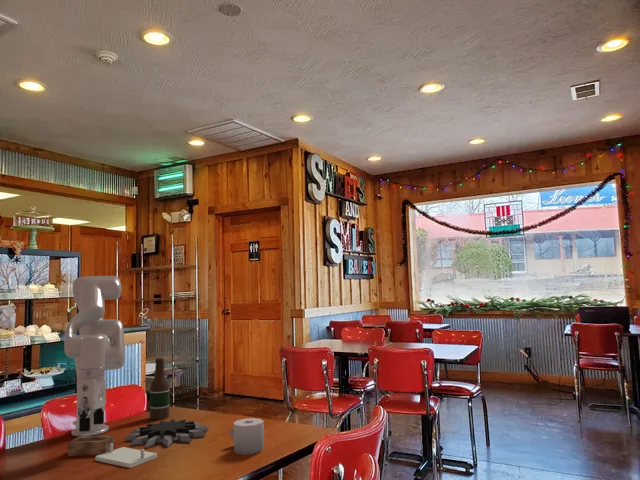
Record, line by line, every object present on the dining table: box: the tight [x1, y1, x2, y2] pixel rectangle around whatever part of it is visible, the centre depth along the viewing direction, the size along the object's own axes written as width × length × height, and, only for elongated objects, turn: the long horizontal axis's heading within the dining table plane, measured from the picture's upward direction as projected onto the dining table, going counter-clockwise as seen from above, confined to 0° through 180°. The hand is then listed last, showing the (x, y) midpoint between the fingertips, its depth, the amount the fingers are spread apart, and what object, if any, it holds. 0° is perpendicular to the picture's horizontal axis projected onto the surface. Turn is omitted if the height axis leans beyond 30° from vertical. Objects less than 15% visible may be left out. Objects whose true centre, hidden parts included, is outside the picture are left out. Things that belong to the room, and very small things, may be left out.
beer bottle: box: [149, 357, 171, 421], centre depth 205 cm, size 8×8×24 cm
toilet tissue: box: [228, 417, 265, 456], centre depth 159 cm, size 9×13×9 cm
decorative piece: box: [123, 418, 211, 449], centre depth 176 cm, size 30×4×30 cm
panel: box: [95, 443, 158, 469], centre depth 153 cm, size 16×10×4 cm, turn 60°
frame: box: [67, 435, 115, 457], centre depth 162 cm, size 12×6×4 cm, turn 90°
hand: (91, 427), depth 161 cm, fingers open, 9 cm apart
